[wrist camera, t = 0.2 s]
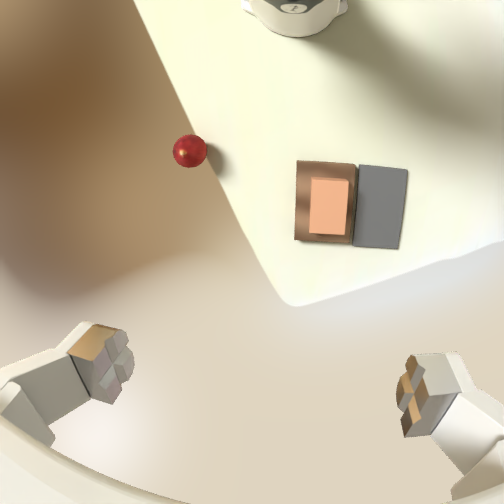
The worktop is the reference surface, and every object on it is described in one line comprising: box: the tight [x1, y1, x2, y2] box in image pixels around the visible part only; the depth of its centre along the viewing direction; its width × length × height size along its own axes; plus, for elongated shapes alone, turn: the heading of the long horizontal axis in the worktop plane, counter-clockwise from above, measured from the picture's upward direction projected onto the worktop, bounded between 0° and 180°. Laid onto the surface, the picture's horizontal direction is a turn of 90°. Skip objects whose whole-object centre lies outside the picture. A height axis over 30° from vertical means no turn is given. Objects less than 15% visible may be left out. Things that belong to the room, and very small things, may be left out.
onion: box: [173, 135, 207, 168], centre depth 49 cm, size 6×6×8 cm
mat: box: [352, 164, 407, 249], centre depth 50 cm, size 15×9×1 cm, turn 0°
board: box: [294, 160, 355, 243], centre depth 51 cm, size 14×10×2 cm
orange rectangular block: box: [309, 177, 349, 235], centre depth 49 cm, size 9×6×3 cm, turn 0°
